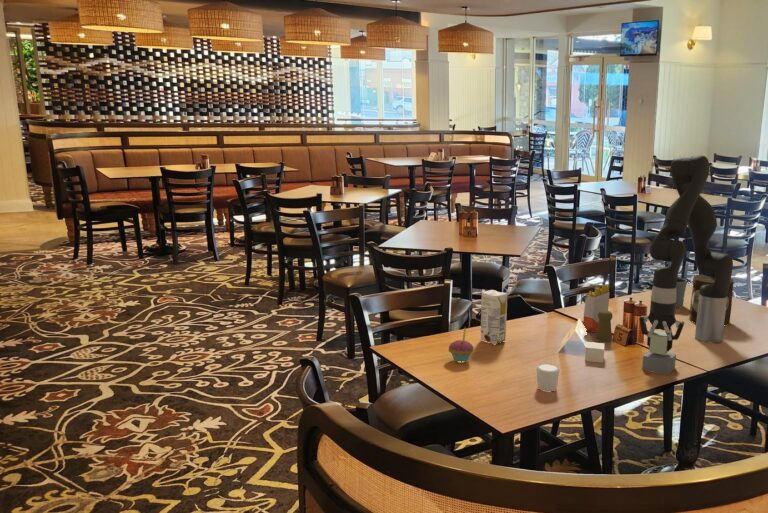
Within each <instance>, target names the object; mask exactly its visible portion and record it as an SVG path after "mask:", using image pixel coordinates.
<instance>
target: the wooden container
mask: <svg viewBox="0 0 768 513" xmlns="http://www.w3.org/2000/svg"><path fill="white" fill-rule="evenodd" d="M714 282H715V278H714V277H709V276H705V275H702V274H697V275H694V276H693V277H692V291H691V299H690V308H689V318H688V319H689V321H690V322H692V321H693V323H694V322H695V323H694V324H696V322H697V312H698V303H699V292H700V287H701V286H703V285H708V284H713V283H714ZM733 290H734V279H733V278H731V280H730V287H729V290H728V293H727V301H726V311H725V320H724V325H727V324H729V325H730V323H731V322H730V321H731V313H732V306H733V305H732V304H733V293H734V292H733ZM727 326H728V325H727Z"/></svg>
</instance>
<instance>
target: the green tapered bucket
mask: <svg viewBox="0 0 768 513" xmlns="http://www.w3.org/2000/svg"><path fill="white" fill-rule="evenodd" d="M687 284H688V279H685V278H683V277H678V276H677V286H676V292H677V295H676V306H675V309H681V308H680V307H682V308H683V307H684V303H685V302H684V299H685V295H686V294H685V292H686V288H687Z"/></svg>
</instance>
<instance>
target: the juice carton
mask: <svg viewBox="0 0 768 513" xmlns="http://www.w3.org/2000/svg"><path fill="white" fill-rule="evenodd" d="M480 308H481V310H480V341H481V340H484V341H487V342H490V343H492V344H497V345H499V344H498V343H500V342H503V341H505V342H506V337H507V312H508V311H507V310H508V293H507V292H503V291H502V292H501V291H497V290H494V289H489V290H486V291H484V292H482V293H481V306H480ZM503 343H504V342H503ZM492 344H491V345H492ZM500 344H501V343H500Z"/></svg>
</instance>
